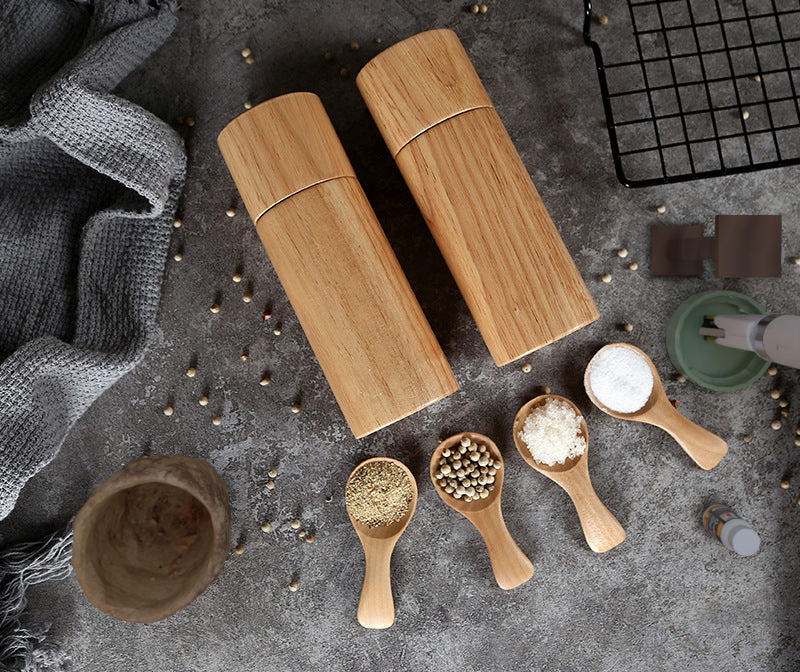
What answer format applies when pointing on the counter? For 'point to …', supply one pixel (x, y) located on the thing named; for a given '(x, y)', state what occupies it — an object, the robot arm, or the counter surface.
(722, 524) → the pill bottle
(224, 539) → the brown pot
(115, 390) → the counter surface
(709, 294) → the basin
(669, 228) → the stand
